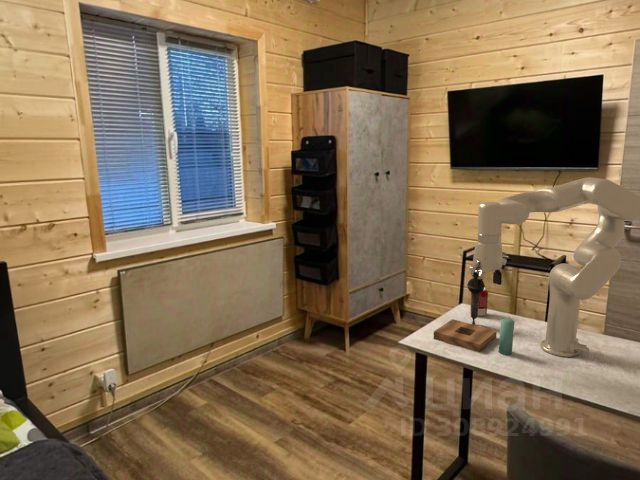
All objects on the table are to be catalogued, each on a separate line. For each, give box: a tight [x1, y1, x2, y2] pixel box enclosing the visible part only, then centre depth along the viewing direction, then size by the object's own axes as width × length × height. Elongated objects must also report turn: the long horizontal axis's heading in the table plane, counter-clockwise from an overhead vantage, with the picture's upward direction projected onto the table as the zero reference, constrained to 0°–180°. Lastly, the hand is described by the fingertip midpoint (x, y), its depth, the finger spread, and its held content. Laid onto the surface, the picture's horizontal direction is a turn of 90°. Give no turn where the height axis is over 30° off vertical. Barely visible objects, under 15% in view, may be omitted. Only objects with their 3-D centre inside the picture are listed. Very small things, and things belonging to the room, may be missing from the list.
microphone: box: [466, 277, 486, 325], centre depth 185 cm, size 7×7×20 cm
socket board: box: [433, 318, 498, 353], centre depth 174 cm, size 18×16×3 cm
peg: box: [498, 318, 515, 356], centre depth 161 cm, size 4×4×12 cm
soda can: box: [469, 287, 489, 318], centre depth 196 cm, size 7×7×12 cm
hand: (487, 286), depth 158 cm, fingers open, 9 cm apart
